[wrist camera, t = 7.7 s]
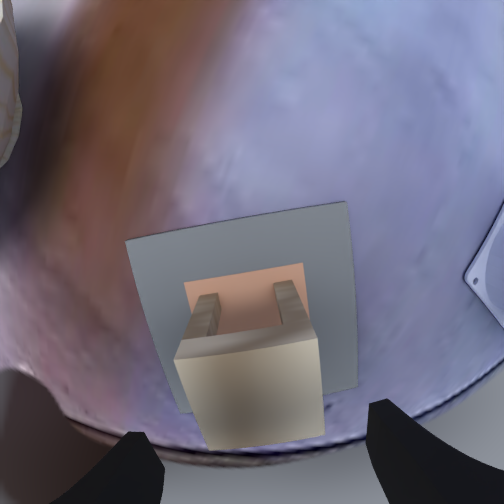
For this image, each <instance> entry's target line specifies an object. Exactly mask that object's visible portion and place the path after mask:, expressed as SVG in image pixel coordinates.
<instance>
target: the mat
mask: <svg viewBox="0 0 504 504" xmlns="http://www.w3.org/2000/svg"><path fill="white" fill-rule="evenodd" d="M125 243H126V247H127V251H128V256H129V260H130V264H131V267H132V271H133V275H134V279H135V283H136V286H137V290H138V293H139V297H140V300H141V304H142V307H143V310H144V314H145V317H146V320H147V323H148V327H149V330H150V333H151V336H152V339H153V342H154V345H155V348H156V351H157V354H158V356H159V359H160V362H161V365H162V368H163V370H164V373H165V376H166V378H167V381H168V384H169V386H170V389H171V391H172V394H173V396H174V399H175V401H176V404H177V406H178V409H179V411H180V413H193V411H192V409H191V406H190V404H189V401H188V398H187V396H186V393H185V391H184V388H183V385H182V383H181V380H180V377H179V374H178V372H177V369H176V366H175V363H174V357H175V355H176V352H177V350H178V347H179V345H180V342H181V340H182V337H183V335H184V332H185V330H186V327H187V325H188V323H189V320H190V318H191V315H192V313H193V310H194V308H195V305H196V303H197V301H198V298H199V296H200V295H205V294H211V293H217V292H218V296H219V300H220V305H221V309H222V310H221V315H220V320H219V325H218V330H217V335H222V334H229V333H236V332H242V331H249V330H255V329H261V328H267V327H272V326H278V325H282V323H281V319H280V314H279V310H278V306H277V302H276V296H275V290H274V284H273V283H276V282H281V281H287V280H292V281H293V283H294V285H295V288H296V290H297V292H298V294H299V297H300V299H301V301H302V304H303V306H304V308H305V310H306V313H307V315H308V317H309V320H310V322H311V324H312V326H313V329H314V331H315V333H316V336H317V338H318V348H319V358H320V369H321V381H322V394H323V395H326V394H331V393H335V392H339V391H344V390H348V389H352V388H356V387H358V341H357V311H356V292H355V277H354V264H353V253H352V242H351V233H350V224H349V215H348V207H347V202H345V201H343V202H336V203H329V204H322V205H316V206H309V207H303V208H297V209H290V210H284V211H278V212H272V213H266V214H260V215H254V216H248V217H243V218H237V219H231V220H226V221H220V222H215V223H209V224H204V225H198V226H193V227H188V228H183V229H177V230H172V231H167V232H162V233H157V234H152V235H147V236H142V237H137V238H133V239H128V240H126V241H125Z"/></svg>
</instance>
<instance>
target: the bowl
mask: <svg viewBox="0 0 504 504" xmlns="http://www.w3.org/2000/svg"><path fill="white" fill-rule="evenodd" d="M18 90H19V52H18V46H17V40H16V33H15V26H14V18H13V8H12V3H11V0H0V168H1V167H2V166H3V165H4V164H5V163H6V162H7V161H8V160H9V157H10V155H11V153H12V150H13V148H14V146H15V143H16V141H17V139H18V137H19V131H20V124H21V116H22V110H23V108H22V104H21V100H20V96H19V92H18Z"/></svg>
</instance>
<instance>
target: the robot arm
mask: <svg viewBox="0 0 504 504" xmlns="http://www.w3.org/2000/svg"><path fill="white" fill-rule="evenodd" d="M474 279H475V280H474ZM473 280H474V282H473ZM465 281H466V283H467V284H468V285H469V286H470V287H471V289H472V290H473V291H474V292H475V293H476V294H477V296H478V297H479V298H480V299H481V300H482V302H483V303H484V304H485V305H486V307H487V308H488V309H489V310H490V312H491V313H492V314H493V315H494V317H495V318H496V319H497V321H498V322H499V323H500V324H501V326H502V327H503V328H504V205H503V207H502V209H501V211H500V213H499V215H498V217H497V219H496V221H495V223H494V225H493V227H492V229H491V230H490V232H489V234H488V236H487V238H486V240H485V241H484V243H483V245H482V247H481V248H480V250H479V252H478V254H477V255H476V257H475V259H474V260H473V262H472V264H471V265H470V267H469V268H468V270H467V272H466V274H465ZM366 446H367V449H368V453H369V456H370V459H371V463H372V466H373V468H374V471H375V473H376V475H377V478H378V479H379V482H380V484H381V486H382V488H383V491H384V493H385V495H386V497H387V499H388V502H389V504H504V471H503V470H500V469H497V468H495V467H492V466H489V465H487V464H485V463H482V462H480V461H478V460H475V459H473V458H471V457H469V456H467V455H465V454H464V453H462V452H460V451H458V450H457V449H455V448H453V447H452V446H450V445H448V444H447V443H445V442H444V441H442V440H441V439H439V438H437V437H436V436H435V435H433V434H432V433H430V432H429V431H427V430H426V429H425V428H423V427H422V426H421V425H420V424H418V423H417V422H416V421H414V420H413V419H412V418H411V417H409V416H408V415H407V414H406V413H404V412H403V411H402V410H401V409H400V408H398V407H397V406H396V405H395V404H394V403H392V402H391V401H390V400H389V399H383V400H380V401H377V402H373V403H370V404H369V411H368V424H367V435H366ZM164 473H165V468H164V466H163V464H162V462H161V461H160V459H159V457H158V456H157V454H156V452H155V450H154V449H153V447H152V445H151V443H150V442H149V440H148V438H147V436H146V435H145V433H144V432H127V433H126V434H125V435H124V436H123V437H122V438H121V439H120V440H119V442H118V443H117V444H116V445H115V446H114V447H113V448H112V449H111V450H110V451H109V452H108V453H107V454H106V455H105V456H104V457H103V458H102V459H101V460H100V461H99V462H98V463H97V464H96V465H95V466H94V467H93V468H92V469H91V470H90V471H89V472H88V473H87V474H86V475H85V476H84V477H83V478H82V479H80V480H79V481H78V482H77V483H76V484H75V485H74V486H73V487H71V488H70V489H69V490H68V491H67V492H65V493H64V494H63V495H61V496H60V497H59V498H57V499H56V500H54V501H53V502H51V503H50V504H160V501H161V497H162V493H163V485H164Z"/></svg>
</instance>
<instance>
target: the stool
mask: <svg viewBox="0 0 504 504" xmlns="http://www.w3.org/2000/svg"><path fill="white" fill-rule="evenodd" d="M273 284H274V290H275V296H276V302H277V306H278V310H279V314H280V319H281V323H282V325H278V326H272V327H267V328H261V329H255V330H249V331H242V332H236V333H229V334H222V335H217V330H218V325H219V320H220V315H221V310H222V309H221V305H220V300H219V296H218V292H217V293H211V294H205V295H200V296H199V298H198V301H197V303H196V305H195V308H194V310H193V313H192V315H191V318H190V320H189V323H188V325H187V327H186V330H185V332H184V335H183V337H182V340H181V342H180V345H179V347H178V350H177V352H176V355H175V357H174V363H175V366H176V369H177V372H178V374H179V377H180V380H181V383H182V385H183V388H184V391H185V393H186V396H187V398H188V401H189V404H190V406H191V409H192V411H193V414H194V416H195V418H196V421H197V423H198V426H199V428H200V430H201V433H202V435H203V437H204V440H205V442H206V444H207V447H208V449H209V450H224V449H236V448H246V447H255V446H263V445H270V444H277V443H284V442H290V441H296V440H301V439H306V438H311V437H316V436H321V435H325V423H324V408H323V394H322V381H321V369H320V358H319V348H318V338H317V336H316V333H315V331H314V329H313V326H312V324H311V322H310V320H309V317H308V315H307V313H306V310H305V308H304V306H303V304H302V301H301V299H300V297H299V294H298V292H297V290H296V288H295V285H294V283H293V281H292V280H287V281H281V282H276V283H273Z"/></svg>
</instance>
